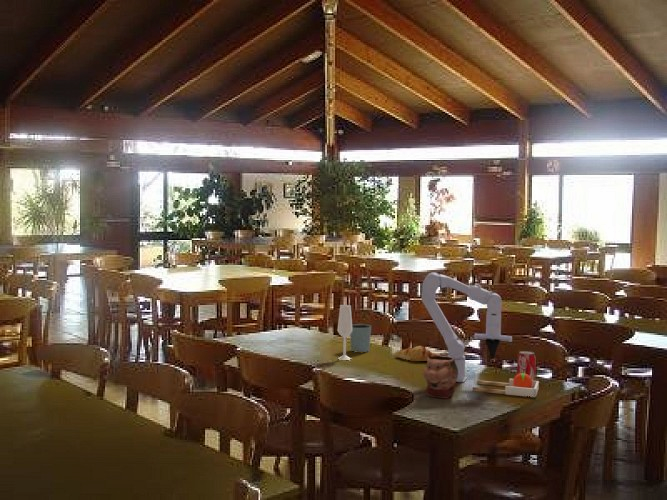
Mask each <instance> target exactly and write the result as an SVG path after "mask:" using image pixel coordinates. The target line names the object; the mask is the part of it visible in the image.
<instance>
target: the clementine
mask: <svg viewBox="0 0 667 500" xmlns="http://www.w3.org/2000/svg"><path fill="white" fill-rule="evenodd" d="M513 379H514V380H513V384H514V386H515V387H523V388H531V386H532V379H531V377H530V376H529V375H528V374H525V373H519V374H517V373H516V375H515V376H514V378H513Z"/></svg>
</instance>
